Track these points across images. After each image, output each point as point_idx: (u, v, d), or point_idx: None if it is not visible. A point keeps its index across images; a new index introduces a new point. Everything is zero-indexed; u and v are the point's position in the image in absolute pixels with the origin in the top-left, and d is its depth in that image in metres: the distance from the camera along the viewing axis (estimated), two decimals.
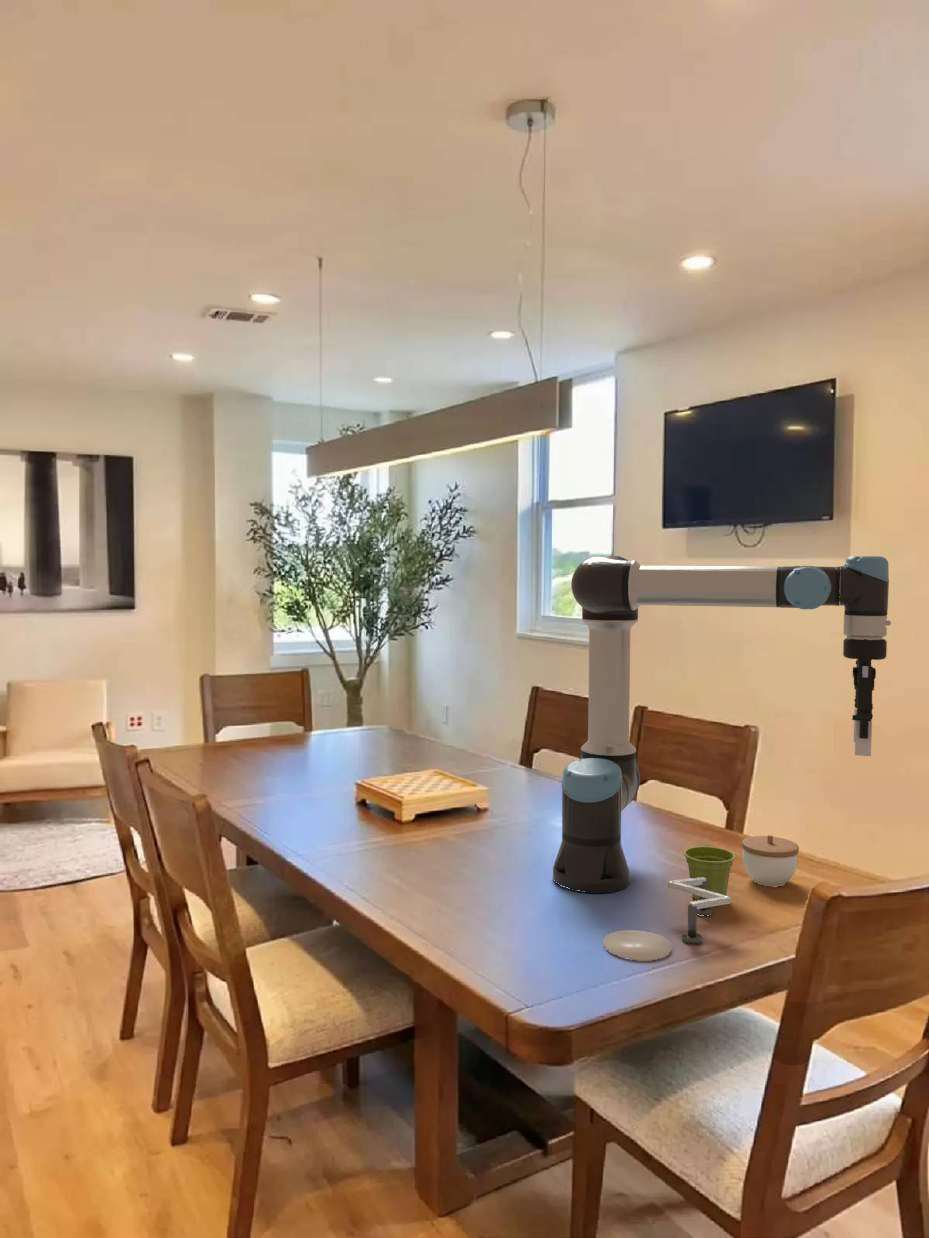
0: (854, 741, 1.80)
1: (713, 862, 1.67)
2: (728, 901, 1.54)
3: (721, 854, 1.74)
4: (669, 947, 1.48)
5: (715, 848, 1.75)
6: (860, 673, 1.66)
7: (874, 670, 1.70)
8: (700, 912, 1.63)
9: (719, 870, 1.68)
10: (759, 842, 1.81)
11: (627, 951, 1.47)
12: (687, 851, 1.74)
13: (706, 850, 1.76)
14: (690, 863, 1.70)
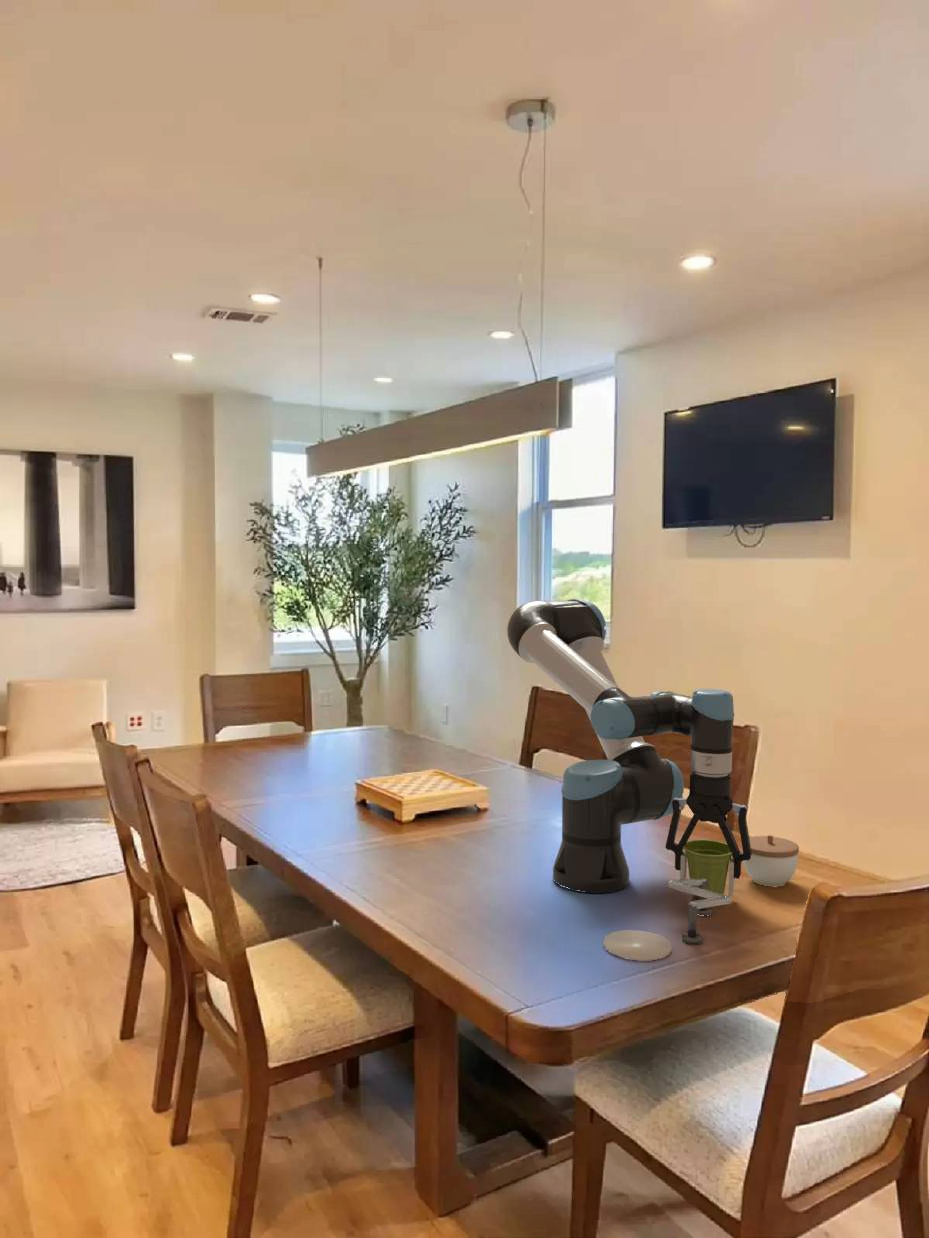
0: None
1: (712, 856, 1.67)
2: (728, 901, 1.54)
3: (720, 847, 1.74)
4: (669, 947, 1.48)
5: (714, 841, 1.75)
6: None
7: (698, 805, 1.70)
8: (700, 912, 1.63)
9: (717, 864, 1.68)
10: (759, 842, 1.81)
11: (627, 951, 1.47)
12: (686, 844, 1.74)
13: (705, 843, 1.76)
14: (689, 856, 1.70)
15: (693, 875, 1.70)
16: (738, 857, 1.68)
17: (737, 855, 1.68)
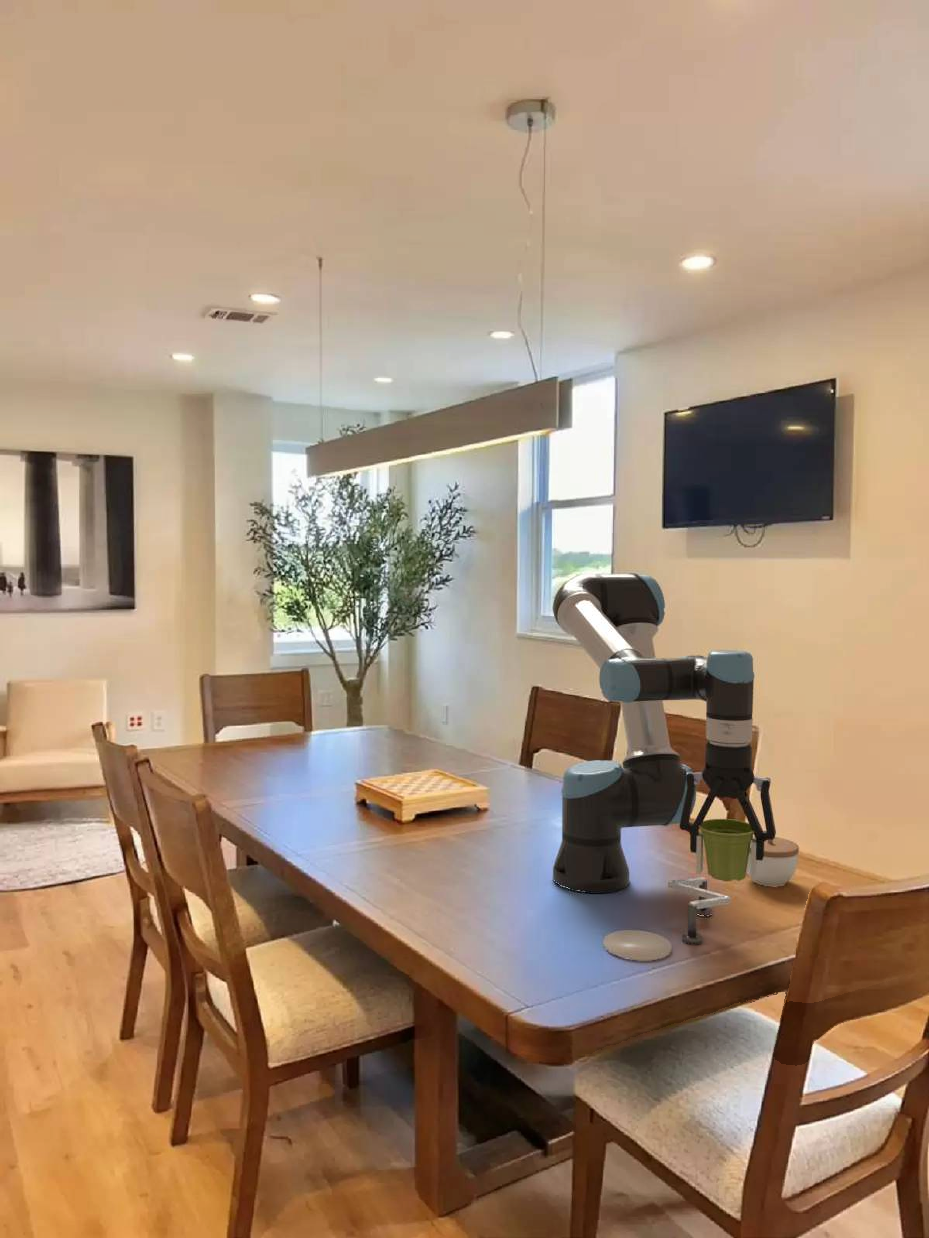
0: None
1: (732, 835, 1.50)
2: (728, 901, 1.54)
3: (740, 826, 1.57)
4: (669, 947, 1.48)
5: (733, 821, 1.58)
6: None
7: (716, 779, 1.53)
8: (700, 912, 1.63)
9: (738, 844, 1.51)
10: None
11: (627, 951, 1.47)
12: (702, 824, 1.57)
13: (723, 822, 1.58)
14: (706, 836, 1.53)
15: (711, 857, 1.53)
16: (761, 836, 1.51)
17: (760, 834, 1.51)
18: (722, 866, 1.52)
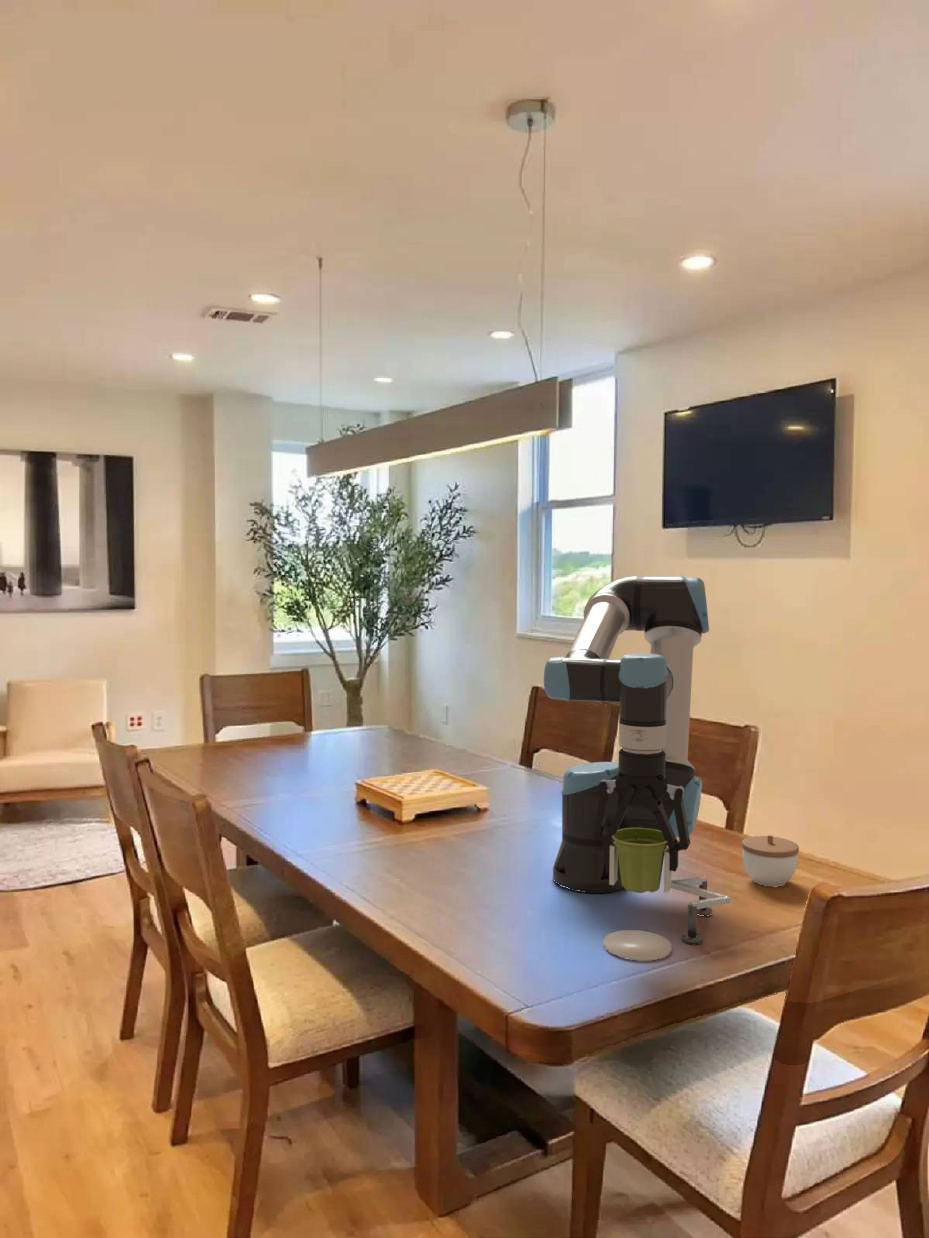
0: None
1: (643, 845, 1.44)
2: (728, 901, 1.54)
3: (655, 836, 1.52)
4: (669, 947, 1.48)
5: (649, 830, 1.53)
6: None
7: (628, 787, 1.47)
8: (700, 912, 1.63)
9: (650, 854, 1.45)
10: (759, 842, 1.81)
11: (627, 951, 1.47)
12: (616, 833, 1.51)
13: (639, 831, 1.53)
14: (618, 846, 1.47)
15: (623, 867, 1.48)
16: (674, 846, 1.46)
17: (673, 844, 1.46)
18: (634, 877, 1.46)
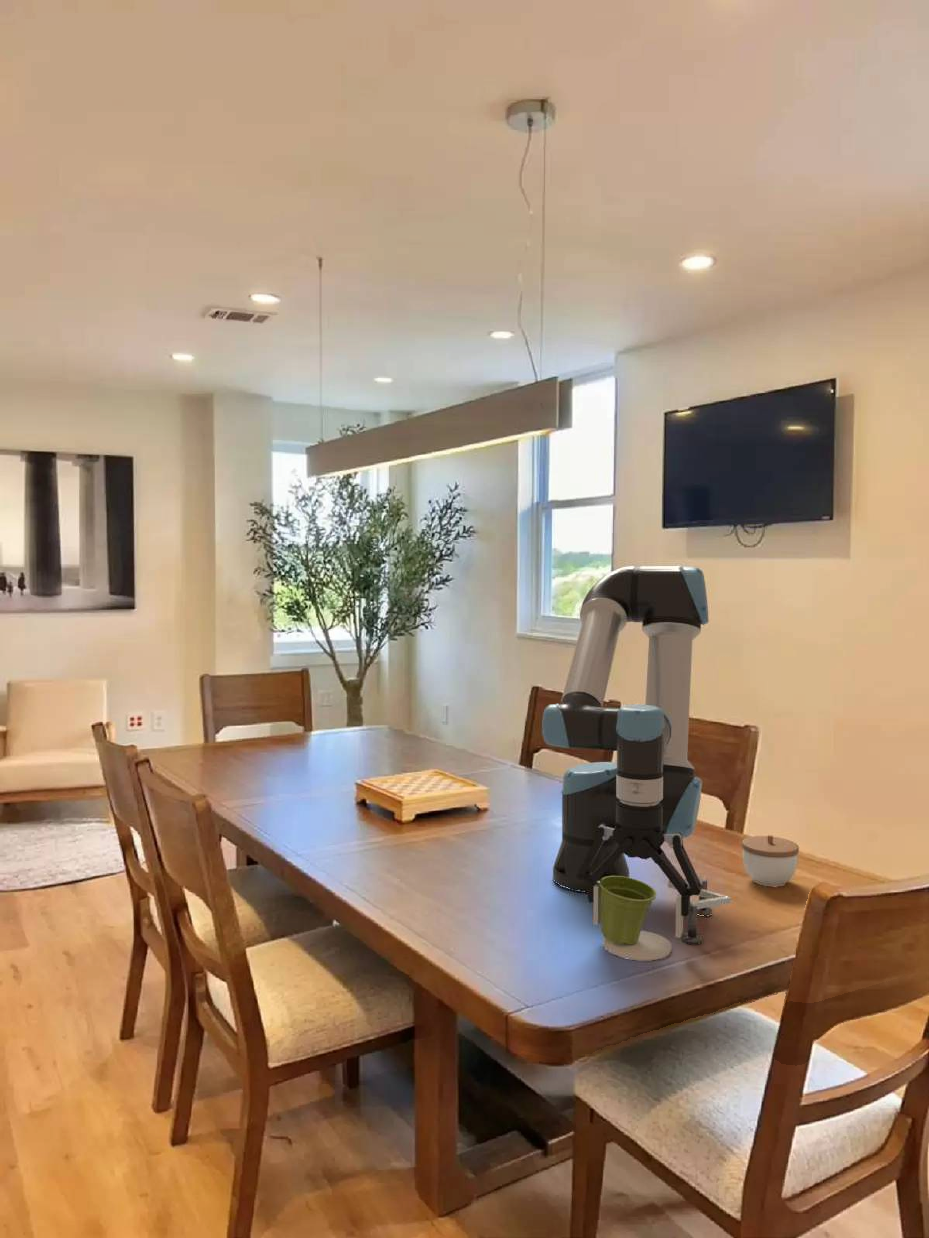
0: None
1: (629, 899, 1.46)
2: (728, 901, 1.54)
3: (642, 888, 1.53)
4: (669, 947, 1.48)
5: (636, 881, 1.54)
6: None
7: (626, 838, 1.48)
8: (700, 912, 1.63)
9: (634, 909, 1.47)
10: (760, 842, 1.81)
11: (627, 951, 1.47)
12: (604, 880, 1.53)
13: (626, 881, 1.55)
14: (604, 895, 1.49)
15: (605, 916, 1.49)
16: (685, 891, 1.45)
17: (683, 889, 1.45)
18: (615, 928, 1.48)
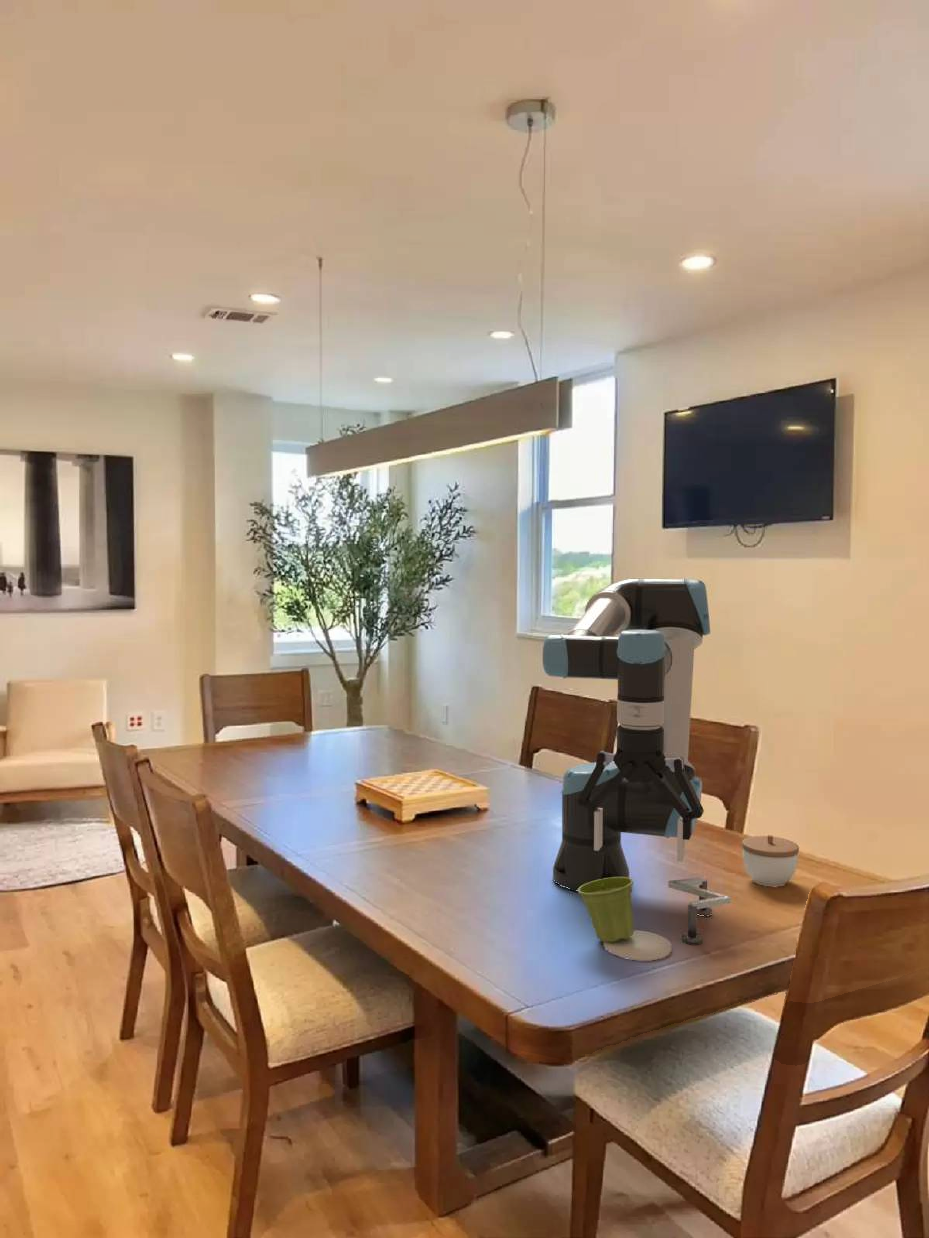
0: None
1: (606, 892, 1.48)
2: (728, 901, 1.54)
3: (621, 883, 1.55)
4: (669, 947, 1.48)
5: (614, 878, 1.56)
6: None
7: (627, 763, 1.47)
8: (700, 912, 1.63)
9: (615, 901, 1.48)
10: (760, 842, 1.81)
11: (627, 951, 1.47)
12: (583, 887, 1.55)
13: (606, 882, 1.56)
14: (585, 899, 1.51)
15: (594, 919, 1.50)
16: (687, 814, 1.45)
17: (685, 812, 1.45)
18: (605, 927, 1.49)
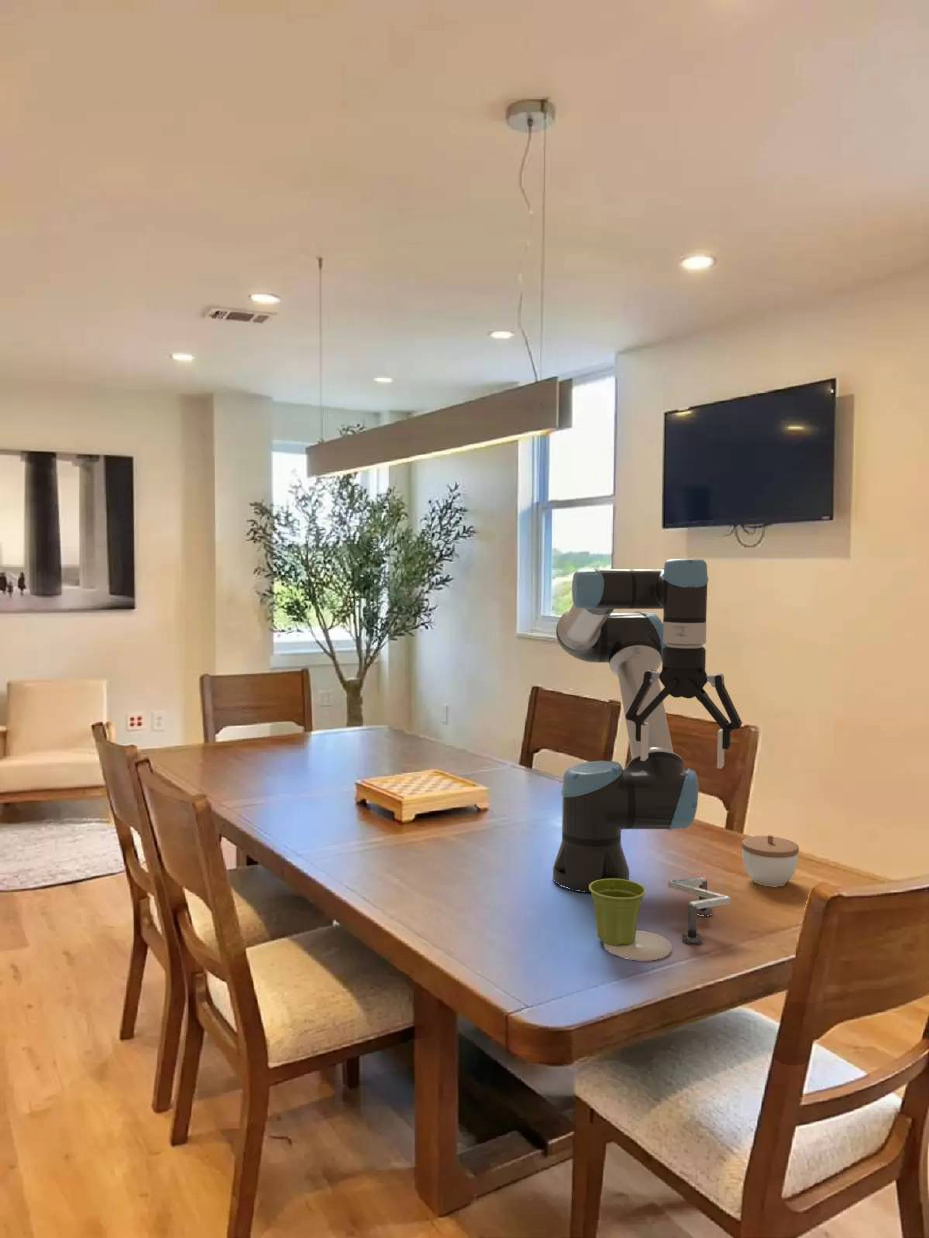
0: None
1: (619, 898, 1.46)
2: (728, 901, 1.54)
3: (632, 887, 1.54)
4: (669, 947, 1.48)
5: (626, 881, 1.55)
6: None
7: (672, 679, 1.62)
8: (700, 912, 1.63)
9: (625, 908, 1.47)
10: (760, 842, 1.81)
11: (627, 951, 1.47)
12: (593, 884, 1.53)
13: (616, 882, 1.55)
14: (594, 898, 1.50)
15: (599, 919, 1.50)
16: (726, 725, 1.59)
17: (725, 724, 1.59)
18: (609, 930, 1.48)
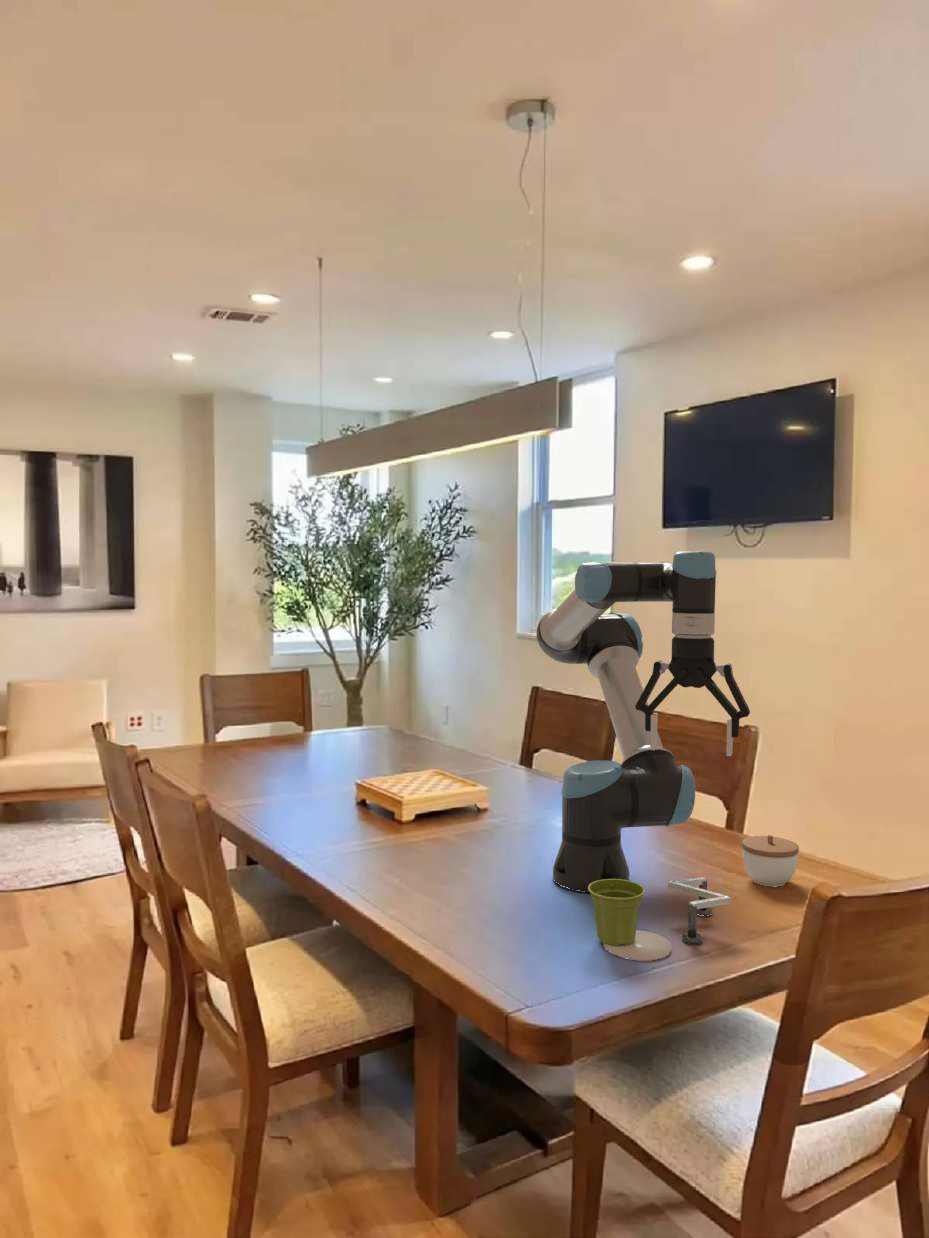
0: None
1: (618, 899, 1.46)
2: (728, 901, 1.54)
3: (631, 887, 1.54)
4: (669, 947, 1.48)
5: (625, 881, 1.55)
6: None
7: (681, 669, 1.65)
8: (700, 912, 1.63)
9: (625, 908, 1.47)
10: (760, 842, 1.81)
11: (627, 951, 1.47)
12: (593, 885, 1.53)
13: (615, 883, 1.55)
14: (594, 899, 1.50)
15: (599, 920, 1.50)
16: (735, 714, 1.62)
17: (734, 712, 1.62)
18: (609, 930, 1.48)
